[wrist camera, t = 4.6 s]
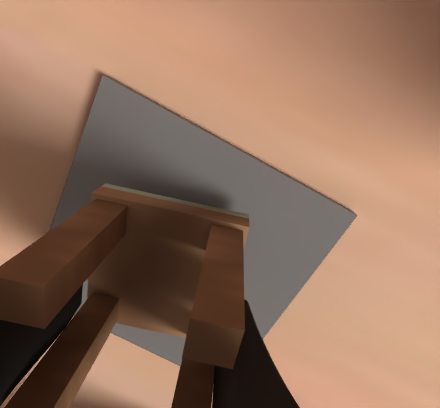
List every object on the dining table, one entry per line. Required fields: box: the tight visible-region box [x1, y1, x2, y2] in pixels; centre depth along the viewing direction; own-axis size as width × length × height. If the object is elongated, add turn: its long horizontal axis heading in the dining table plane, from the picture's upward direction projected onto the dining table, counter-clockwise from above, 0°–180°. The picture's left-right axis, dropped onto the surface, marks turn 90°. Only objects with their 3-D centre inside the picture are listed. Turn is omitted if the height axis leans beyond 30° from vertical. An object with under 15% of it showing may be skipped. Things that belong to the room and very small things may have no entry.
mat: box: [49, 75, 357, 366], centre depth 14 cm, size 12×12×1 cm
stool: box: [0, 184, 250, 408], centre depth 10 cm, size 6×6×6 cm
